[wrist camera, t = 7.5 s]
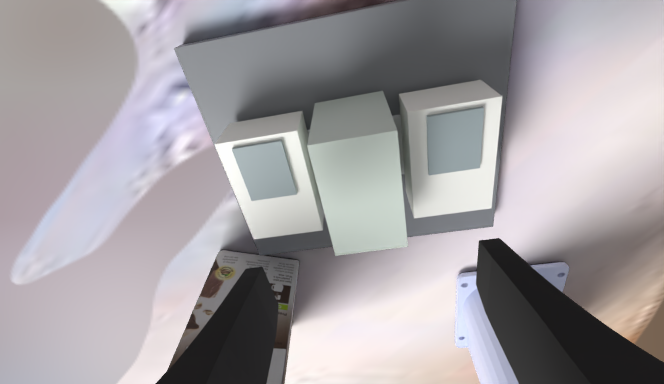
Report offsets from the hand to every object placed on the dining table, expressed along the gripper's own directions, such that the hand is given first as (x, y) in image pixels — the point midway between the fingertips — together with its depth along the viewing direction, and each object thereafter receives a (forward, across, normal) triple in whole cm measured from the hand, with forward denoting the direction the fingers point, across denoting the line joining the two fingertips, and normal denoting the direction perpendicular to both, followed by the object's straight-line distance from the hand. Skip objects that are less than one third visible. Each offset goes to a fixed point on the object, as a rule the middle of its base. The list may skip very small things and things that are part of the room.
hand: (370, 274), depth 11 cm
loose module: (+9, 0, 0) cm, 9 cm away
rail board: (+10, 0, 0) cm, 10 cm away
